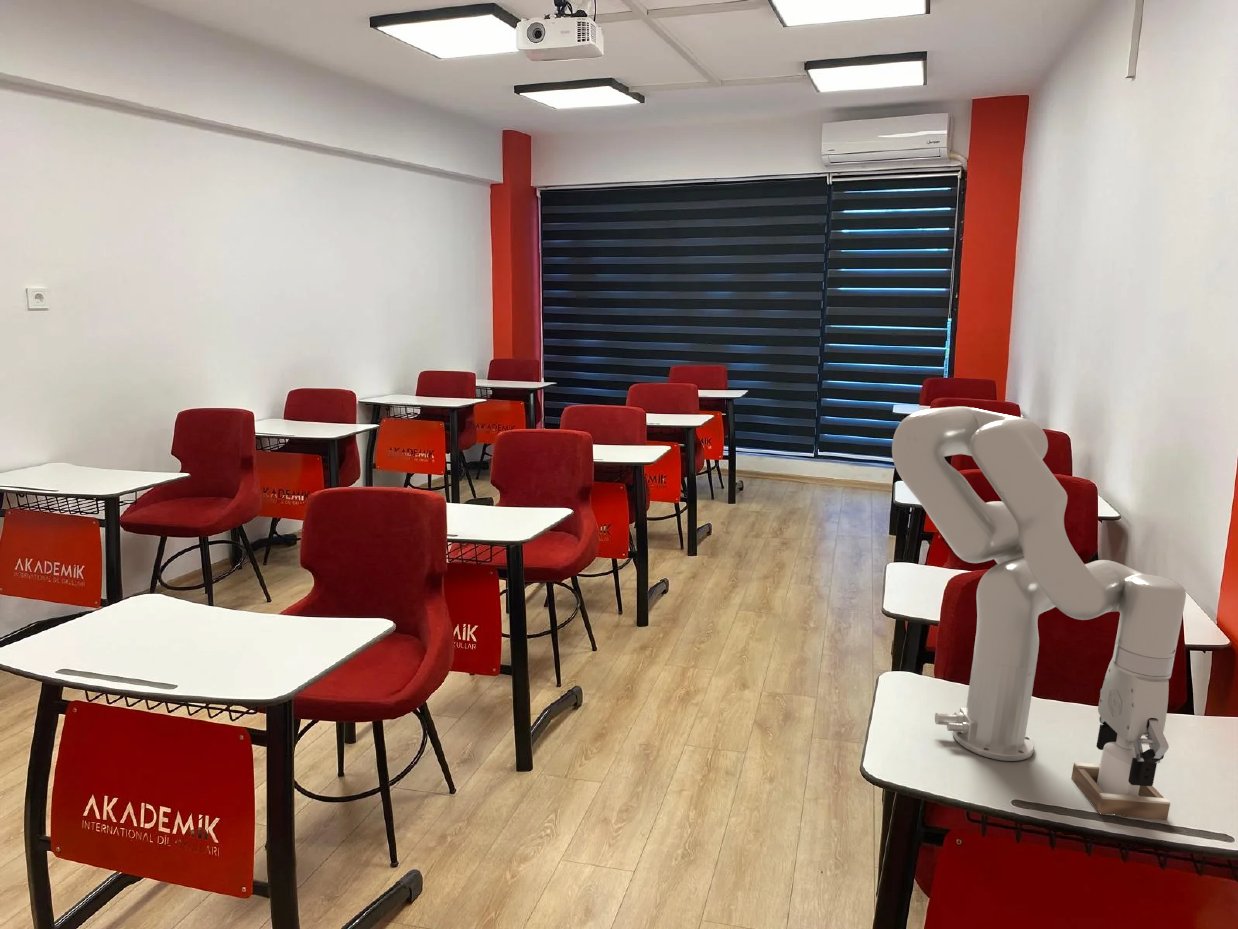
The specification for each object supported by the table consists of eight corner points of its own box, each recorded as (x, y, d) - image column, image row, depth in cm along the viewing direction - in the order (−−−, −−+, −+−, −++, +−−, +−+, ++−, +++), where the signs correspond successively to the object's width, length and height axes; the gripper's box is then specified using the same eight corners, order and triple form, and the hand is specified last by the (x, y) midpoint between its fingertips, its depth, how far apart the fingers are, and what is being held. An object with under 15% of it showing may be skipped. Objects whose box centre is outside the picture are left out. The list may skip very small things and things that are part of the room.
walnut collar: (1100, 814, 127) (1103, 797, 126) (1071, 778, 136) (1073, 762, 136) (1167, 819, 126) (1170, 802, 126) (1133, 783, 136) (1136, 767, 135)
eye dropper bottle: (1107, 806, 129) (1120, 732, 127) (1093, 785, 135) (1105, 714, 132) (1139, 810, 129) (1153, 735, 126) (1123, 789, 134) (1136, 717, 132)
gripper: (1088, 635, 136) (1071, 735, 139) (1147, 684, 119) (1126, 797, 122) (1138, 638, 135) (1120, 739, 139) (1204, 688, 118) (1181, 802, 122)
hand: (1123, 766), depth 130 cm, fingers open, 9 cm apart
